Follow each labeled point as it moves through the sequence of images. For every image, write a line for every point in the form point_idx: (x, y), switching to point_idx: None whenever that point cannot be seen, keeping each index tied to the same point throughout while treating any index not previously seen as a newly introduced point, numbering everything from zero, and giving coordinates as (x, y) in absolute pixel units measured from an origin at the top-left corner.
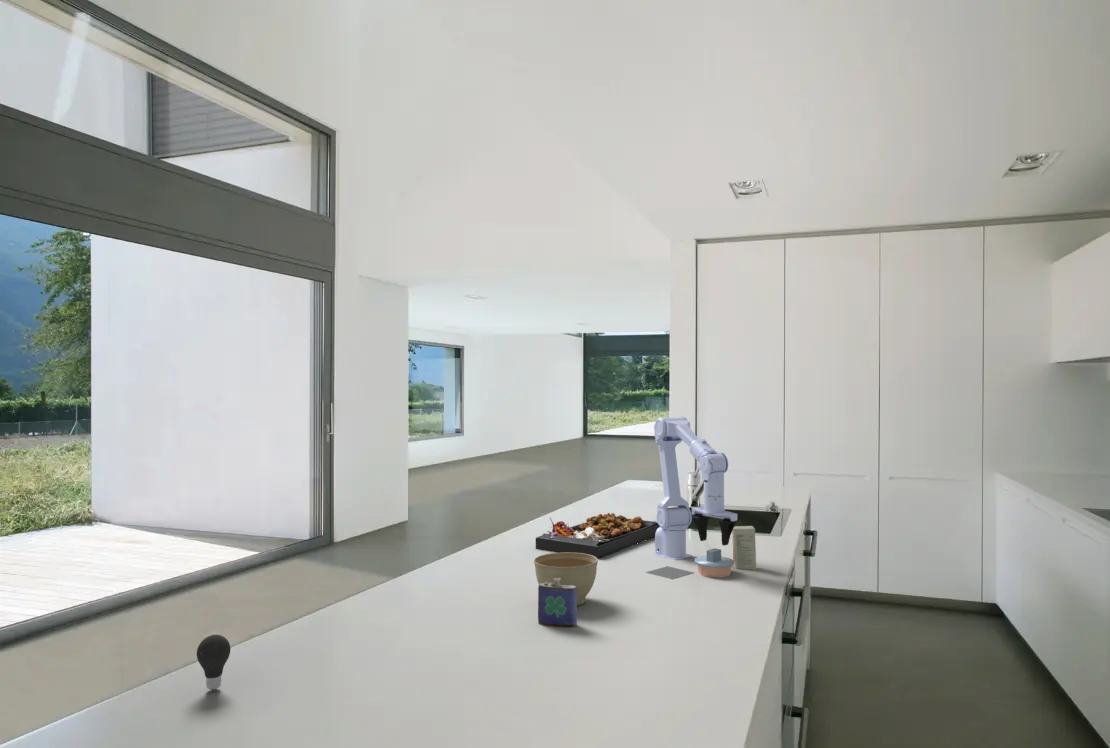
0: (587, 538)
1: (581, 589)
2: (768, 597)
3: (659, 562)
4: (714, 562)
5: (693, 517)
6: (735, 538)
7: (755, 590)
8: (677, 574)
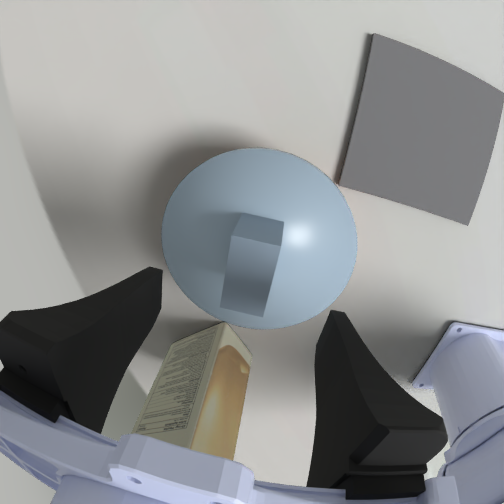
0: None
1: None
2: (16, 86)
3: (498, 275)
4: (234, 213)
5: (434, 433)
6: (194, 413)
7: (57, 119)
8: (392, 115)
